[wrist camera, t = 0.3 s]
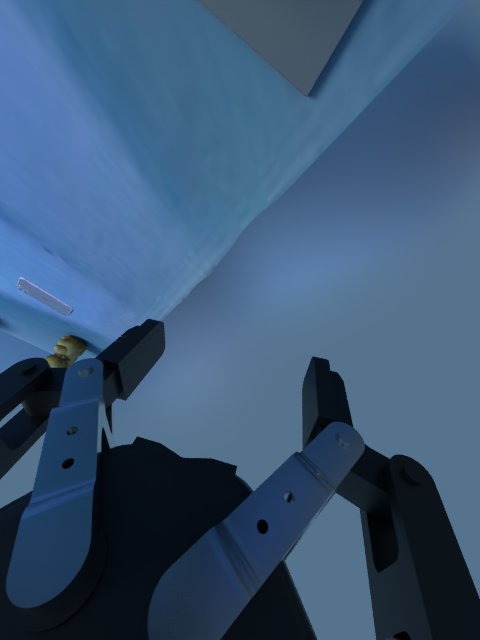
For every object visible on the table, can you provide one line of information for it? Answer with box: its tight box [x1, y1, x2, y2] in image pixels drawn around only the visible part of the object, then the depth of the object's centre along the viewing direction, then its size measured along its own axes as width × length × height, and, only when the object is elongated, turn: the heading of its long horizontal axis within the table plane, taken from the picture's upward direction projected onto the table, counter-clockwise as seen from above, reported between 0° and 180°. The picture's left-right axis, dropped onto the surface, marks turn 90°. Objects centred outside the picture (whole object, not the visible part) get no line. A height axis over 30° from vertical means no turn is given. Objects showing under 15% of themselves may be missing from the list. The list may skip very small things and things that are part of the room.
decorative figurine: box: [46, 336, 86, 368], centre depth 86 cm, size 10×8×15 cm
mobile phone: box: [17, 277, 73, 316], centre depth 72 cm, size 8×1×15 cm
